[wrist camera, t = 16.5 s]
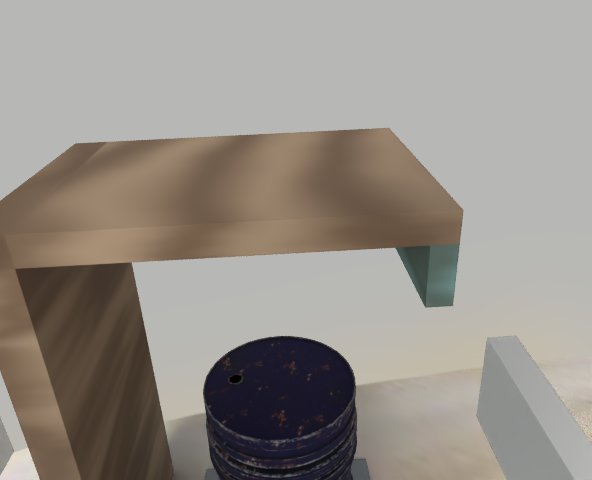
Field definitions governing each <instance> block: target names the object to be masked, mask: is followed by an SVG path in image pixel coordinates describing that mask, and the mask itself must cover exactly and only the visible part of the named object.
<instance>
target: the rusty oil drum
mask: <svg viewBox="0 0 592 480" xmlns="http://www.w3.org/2000/svg"><path fill="white" fill-rule="evenodd" d="M355 394H356V385H355V377H354V373H353V370H352V368H351V367H350V365H349V363H348V362H347V361H346V359H345V358H344V357H343V356H342V355H341V354H339V353H338V352H337V351H335V350H334V349H332V348H331V347H329V346H327V345H325V344H323V343H321V342H318V341H315V340H311V339H307V338H302V337H292V336H277V337H268V338H262V339H258V340H254V341H251V342H248V343H246V344H243V345H241V346H238V347H237V348H235V349H233V350H231V351H230V352H228V353H227V354H225V355H224V356H223V357H222V358H220V359H219V361H217V362H216V363H215V365H214V366H213V367H212V368H211V370H210V371H209V373H208V375H207V377H206V380H205V383H204V389H203V395H204V403H205V409H206V416H207V419H206V428H207V435H208V442H209V450H210V457H211V461H212V463H213V466H214V468H215V471H216V473H217V475H218V477H219V479H220V480H353V476H352V473H351V465H352V462H353V460H354V455H355V452H356V446H357V436H356V431H357V412H356V407H355Z"/></svg>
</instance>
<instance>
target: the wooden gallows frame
mask: <svg viewBox="0 0 592 480" xmlns="http://www.w3.org/2000/svg"><path fill="white" fill-rule="evenodd" d="M462 218H463V209H462V208H461V207H460V206H459V205H458V204H457V203H456V201H455V200H454V199H453V198H452V197H451V196H450V195H449V194H448V193H447V191H446V190H445V189H444V188H443V187H442V186H441V185H440V184H439V183H438V182H437V180H436V179H435V178H434V177H433V176H432V175H431V174H430V173H429V172H428V170H427V169H426V168H425V167H424V166H423V165H422V164H421V163H420V162H419V161H418V159H417V158H416V157H415V156H414V155H413V154H412V153H411V152H410V151H409V149H408V148H406V146H405V145H404V144H403V143H402V142H401V141H400V140H399V138H398V137H397V136H396V135H395V134H394V133H393V132H392V131H391V130H390V129H389V128H378V129H358V130H339V131H318V132H298V133H279V134H259V135H238V136H218V137H198V138H178V139H159V140H138V141H119V142H98V143H78V144H74V145H73V146H72V147H70V148H69V149H68V150H66V151H65V152H64V153H62V154H61V155H60V156H59V157H57V158H56V159H55V160H53V161H52V162H51V163H49V164H48V165H47V166H45V167H44V168H43V169H41V170H40V171H39V172H38V173H36V174H35V175H34V176H32V177H31V178H30V179H28V180H27V181H26V182H24V183H23V184H22V185H21V186H19V187H18V188H17V189H15V190H14V191H13V192H11V193H10V194H9V195H7V196H6V197H5V198H3V199H2V200H1V201H0V371H1V374H2V377H3V379H4V382H5V385H6V387H7V390H8V393H9V396H10V399H11V401H12V404H13V407H14V409H15V412H16V415H17V418H18V421H19V423H20V426H21V429H22V431H23V434H24V437H25V440H26V442H27V445H28V448H29V451H30V453H31V456H32V459H33V462H34V464H35V467H36V470H37V473H38V475H39V478H40V480H172V475H173V466H172V461H171V456H170V451H169V446H168V441H167V436H166V431H165V426H164V421H163V416H162V411H161V406H160V402H159V397H158V391H157V387H156V381H155V377H154V372H153V367H152V362H151V357H150V352H149V347H148V342H147V337H146V332H145V327H144V322H143V317H142V312H141V307H140V302H139V297H138V293H137V287H136V283H135V278H134V272H133V267H132V262H145V261H164V260H180V259H181V260H182V259H199V258H217V257H235V256H252V255H271V254H289V253H305V252H324V251H341V250H360V249H376V248H377V249H378V248H396V250H397V252H398V254H399V256H400V257H401V260H402V262H403V264H404V266H405V268H406V270H407V272H408V274H409V276H410V278H411V279H412V282H413V284H414V286H415V288H416V290H417V292H418V294H419V296H420V298H421V299H422V302H423V304H424V306H425V307H440V306H453V298H454V290H455V281H456V272H457V262H458V254H459V245H460V235H461V227H462Z"/></svg>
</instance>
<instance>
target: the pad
mask: <svg viewBox="0 0 592 480" xmlns="http://www.w3.org/2000/svg"><path fill="white" fill-rule="evenodd" d="M351 473H352V476H353V480H370V477H369V472H368V467H367V463H366V459H358V460H353V462H352V465H351ZM205 480H220V479H219V477H218V475H217V473H216V471H215V469H208V470H206V476H205Z"/></svg>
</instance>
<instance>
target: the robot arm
mask: <svg viewBox="0 0 592 480" xmlns="http://www.w3.org/2000/svg"><path fill="white" fill-rule="evenodd" d="M477 418H478V420H479V422H480V424H481V426H482V428H483V431H484V433H485V435H486V437H487V439H488V441H489V443H490V445H491V447H492V449H493V452H494V454H495V456H496V458H497V460H498V462H499V464H500V466H501V468H502V470H503V472H504V475H505V477H506V479H507V480H592V443H591V441H590V440H589V439H588V437H587V436H586V434H585V433H584V431H583V430H582V429H581V427H580V426H579V424H578V423H577V421H576V420H575V419H574V417H573V416H572V414H571V413H570V412H569V410H568V409H567V407H566V406H565V404H564V403H563V402H562V400H561V399H560V397H559V396H558V394H557V393H556V392H555V390H554V389H553V387H552V386H551V384H550V383H549V382H548V380H547V379H546V377H545V376H544V375H543V373H542V372H541V370H540V369H539V367H538V366H537V365H536V363H535V362H534V360H533V359H532V357H531V356H530V355H529V353H528V352H527V350H526V349H525V348H524V346H523V345H522V343H521V342H520V340H519V339H518V338H517V336H506V337H493V338H487V343H486V350H485V358H484V366H483V372H482V380H481V387H480V395H479V402H478V410H477ZM13 452H14V449H13V447H12V444H11V442H10V440H9V437H8V435H7V432H6V430H5V428H4V425H3V423H2V421H1V418H0V475H1V473H2V471H3V470H4V468H5V466H6V464H7V462H8V461H9V459H10V457H11V455H12V454H13Z"/></svg>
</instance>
